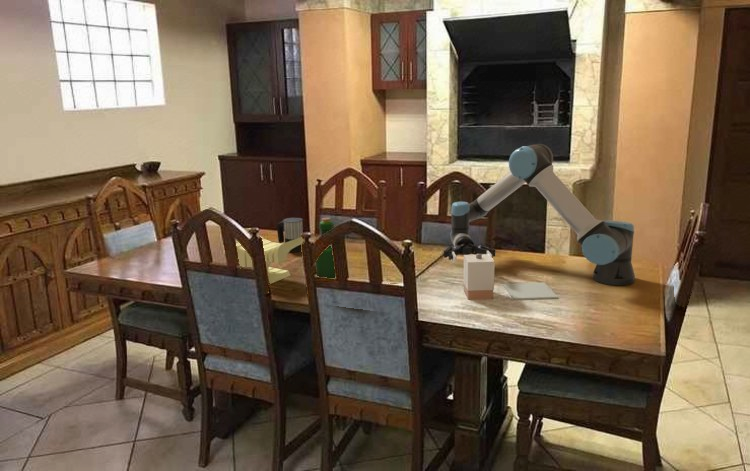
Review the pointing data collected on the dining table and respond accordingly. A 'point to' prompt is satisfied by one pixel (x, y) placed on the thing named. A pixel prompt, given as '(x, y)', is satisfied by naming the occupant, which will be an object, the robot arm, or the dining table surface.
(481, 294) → the dish
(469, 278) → the cover
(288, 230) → the milk frother
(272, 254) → the slatted curved stool
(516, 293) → the mat
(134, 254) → the dining table surface
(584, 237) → the robot arm
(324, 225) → the bottle
